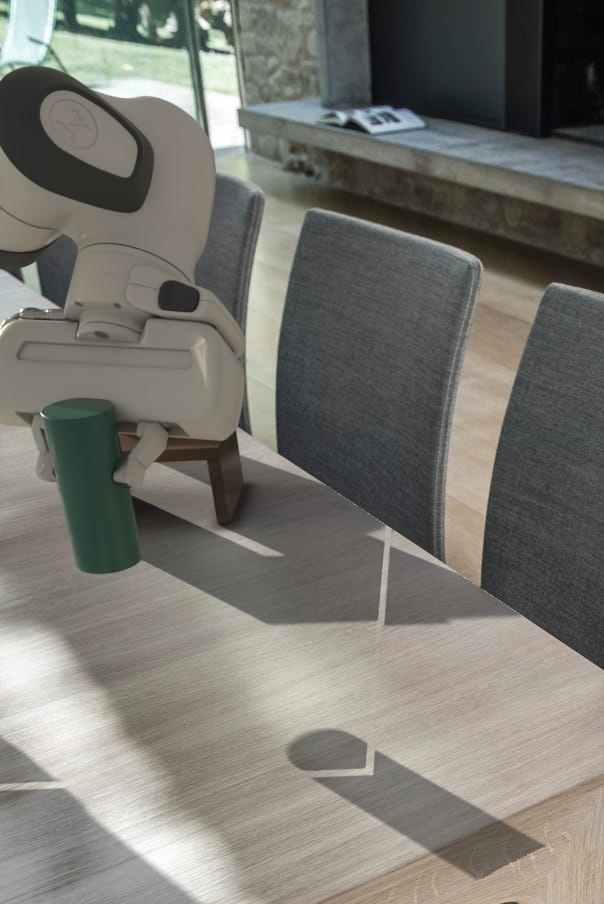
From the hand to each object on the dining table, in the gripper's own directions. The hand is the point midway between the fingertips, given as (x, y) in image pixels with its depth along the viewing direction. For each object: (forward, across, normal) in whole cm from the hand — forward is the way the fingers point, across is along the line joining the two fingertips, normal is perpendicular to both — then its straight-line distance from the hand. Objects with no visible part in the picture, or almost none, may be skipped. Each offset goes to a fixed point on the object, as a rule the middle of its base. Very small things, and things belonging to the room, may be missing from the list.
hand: (88, 482), depth 85 cm
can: (+4, 0, +5) cm, 7 cm away
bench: (-9, -9, +27) cm, 30 cm away
